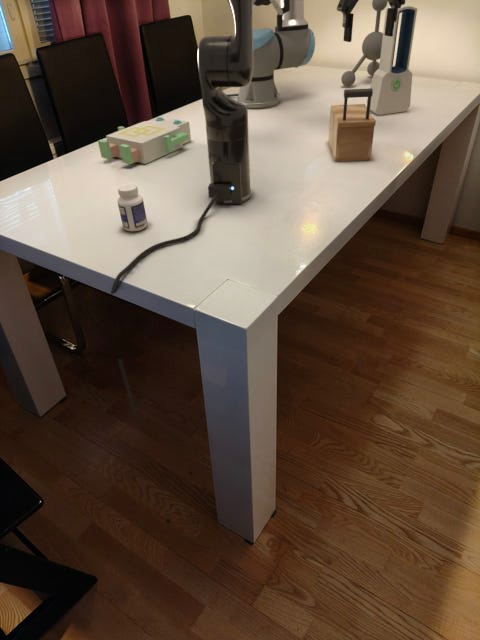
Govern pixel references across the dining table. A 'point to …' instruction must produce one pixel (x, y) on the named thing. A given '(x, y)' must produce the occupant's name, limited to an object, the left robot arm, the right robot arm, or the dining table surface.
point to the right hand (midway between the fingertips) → (368, 38)
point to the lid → (354, 110)
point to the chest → (350, 141)
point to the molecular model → (369, 47)
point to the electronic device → (397, 80)
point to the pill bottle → (131, 208)
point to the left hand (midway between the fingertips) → (262, 32)
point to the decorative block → (146, 140)
